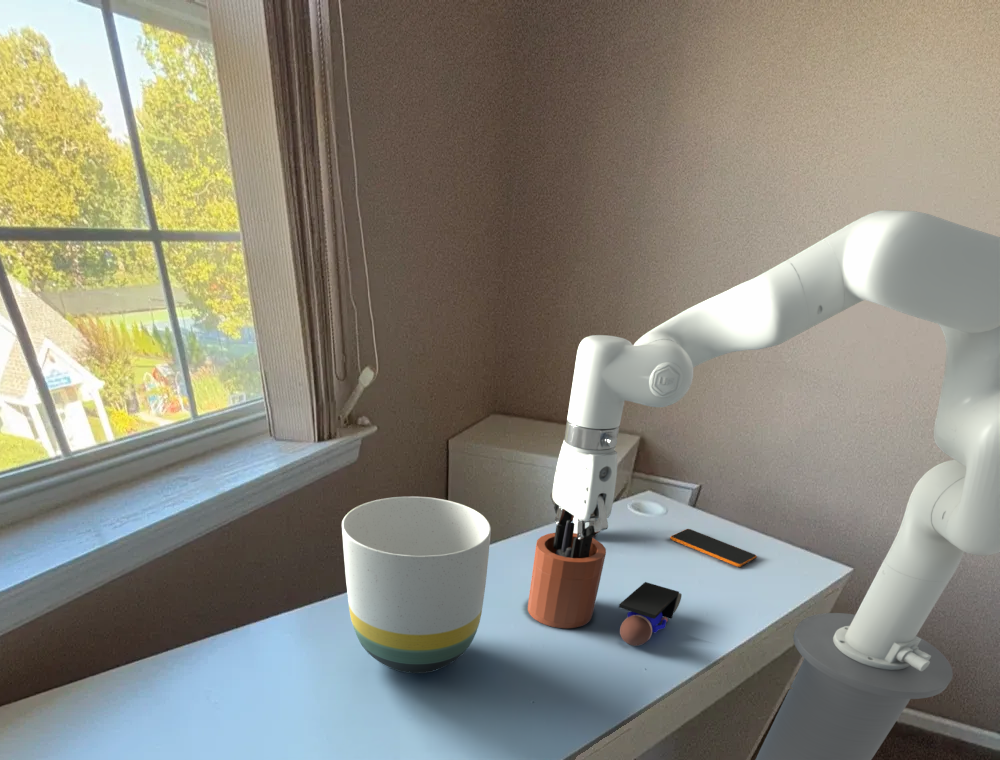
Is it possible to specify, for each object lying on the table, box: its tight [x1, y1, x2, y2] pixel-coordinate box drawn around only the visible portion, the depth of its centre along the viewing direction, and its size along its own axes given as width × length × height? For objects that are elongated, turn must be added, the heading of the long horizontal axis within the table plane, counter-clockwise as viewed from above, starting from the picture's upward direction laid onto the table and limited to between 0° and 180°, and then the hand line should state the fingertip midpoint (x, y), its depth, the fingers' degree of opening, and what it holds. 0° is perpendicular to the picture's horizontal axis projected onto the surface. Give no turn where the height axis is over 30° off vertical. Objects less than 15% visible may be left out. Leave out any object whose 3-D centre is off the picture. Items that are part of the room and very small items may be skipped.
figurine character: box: [618, 581, 682, 647], centre depth 105 cm, size 7×8×15 cm
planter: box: [341, 496, 492, 674], centre depth 90 cm, size 20×20×21 cm
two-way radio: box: [555, 520, 572, 558], centre depth 105 cm, size 6×4×15 cm
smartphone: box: [669, 528, 758, 568], centre depth 133 cm, size 8×17×1 cm, turn 43°
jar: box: [527, 532, 607, 629], centre depth 106 cm, size 11×11×12 cm
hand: (570, 552), depth 103 cm, fingers closed on two-way radio, 4 cm apart
